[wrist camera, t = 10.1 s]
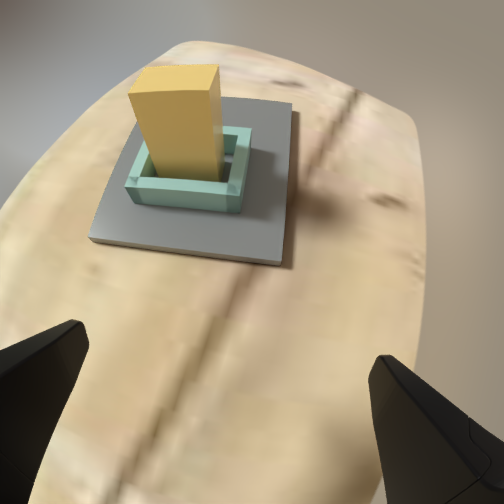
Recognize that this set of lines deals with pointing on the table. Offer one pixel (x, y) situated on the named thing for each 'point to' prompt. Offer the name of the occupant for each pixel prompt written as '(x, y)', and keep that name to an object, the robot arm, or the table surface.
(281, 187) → the plate
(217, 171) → the block
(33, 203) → the table surface
